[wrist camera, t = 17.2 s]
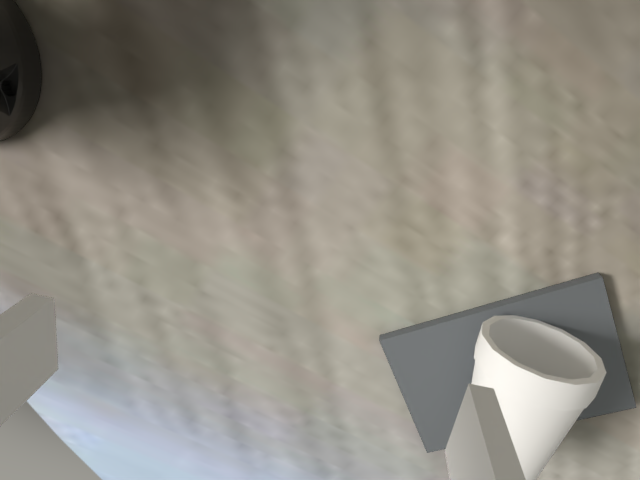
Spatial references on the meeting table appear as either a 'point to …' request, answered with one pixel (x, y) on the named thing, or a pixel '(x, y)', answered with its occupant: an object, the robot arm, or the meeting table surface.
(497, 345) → the foam cup
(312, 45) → the meeting table surface
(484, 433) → the robot arm
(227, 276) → the meeting table surface
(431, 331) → the rubber mat
